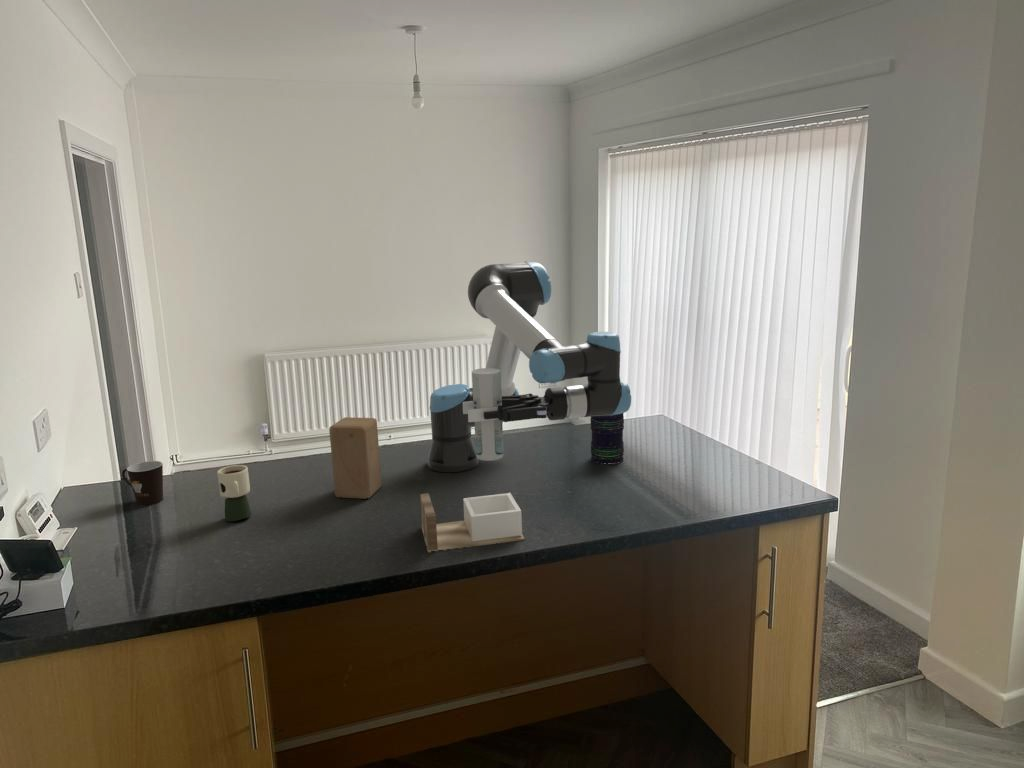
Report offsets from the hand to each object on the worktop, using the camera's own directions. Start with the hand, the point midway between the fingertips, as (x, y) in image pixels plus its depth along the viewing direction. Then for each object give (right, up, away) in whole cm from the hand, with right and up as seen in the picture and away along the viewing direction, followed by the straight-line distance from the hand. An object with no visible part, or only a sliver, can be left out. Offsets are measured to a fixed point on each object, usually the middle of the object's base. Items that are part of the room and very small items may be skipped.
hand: (465, 411), depth 164 cm
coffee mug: (-88, -25, +35) cm, 98 cm away
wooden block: (-31, -23, +35) cm, 52 cm away
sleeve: (+6, -28, +8) cm, 29 cm away
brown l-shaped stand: (+1, -29, +7) cm, 29 cm away
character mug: (-58, -28, +20) cm, 68 cm away
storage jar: (+39, -16, +55) cm, 69 cm away
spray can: (+5, -10, +4) cm, 12 cm away
